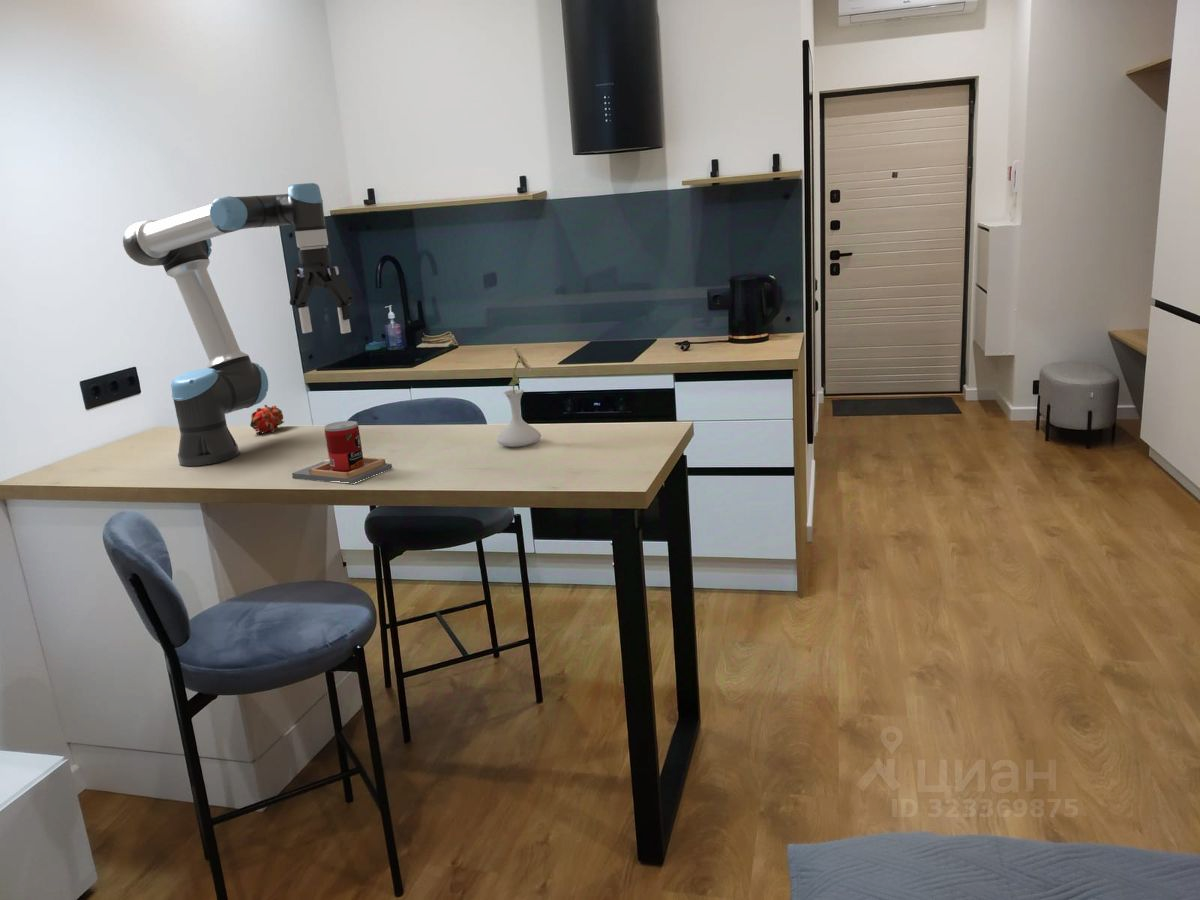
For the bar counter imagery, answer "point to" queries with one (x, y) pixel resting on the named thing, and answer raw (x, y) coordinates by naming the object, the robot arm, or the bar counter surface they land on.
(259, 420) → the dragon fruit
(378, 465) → the plate
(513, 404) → the flower in vase
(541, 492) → the bar counter surface
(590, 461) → the bar counter surface
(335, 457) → the canned food
